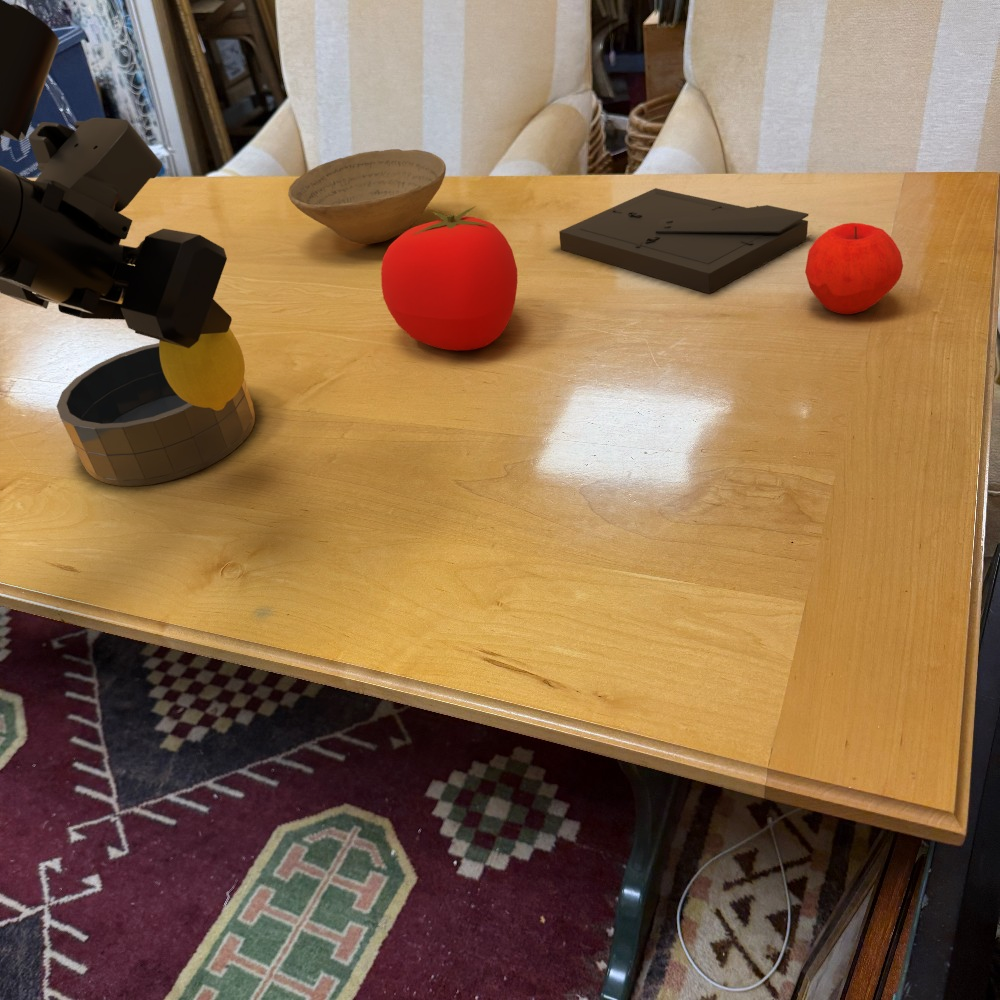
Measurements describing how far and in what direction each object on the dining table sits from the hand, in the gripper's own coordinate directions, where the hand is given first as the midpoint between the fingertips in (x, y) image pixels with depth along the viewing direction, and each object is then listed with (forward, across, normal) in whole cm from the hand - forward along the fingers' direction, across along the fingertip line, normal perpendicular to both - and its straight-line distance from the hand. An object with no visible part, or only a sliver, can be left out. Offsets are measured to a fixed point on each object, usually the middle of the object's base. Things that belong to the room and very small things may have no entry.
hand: (206, 319), depth 64 cm
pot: (+10, +12, +9) cm, 18 cm away
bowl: (+40, +25, -21) cm, 52 cm away
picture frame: (+46, -10, -28) cm, 55 cm away
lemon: (+4, 0, +6) cm, 7 cm away
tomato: (+28, -1, -9) cm, 29 cm away
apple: (+40, -31, -22) cm, 55 cm away
